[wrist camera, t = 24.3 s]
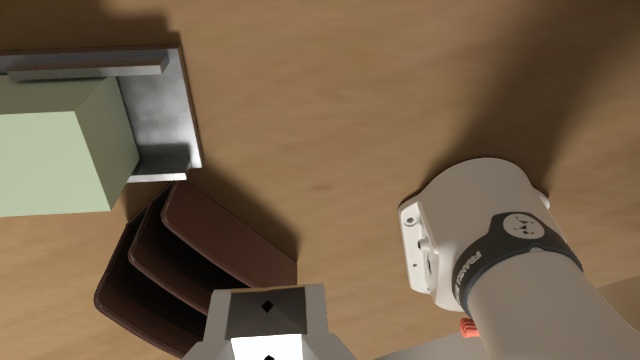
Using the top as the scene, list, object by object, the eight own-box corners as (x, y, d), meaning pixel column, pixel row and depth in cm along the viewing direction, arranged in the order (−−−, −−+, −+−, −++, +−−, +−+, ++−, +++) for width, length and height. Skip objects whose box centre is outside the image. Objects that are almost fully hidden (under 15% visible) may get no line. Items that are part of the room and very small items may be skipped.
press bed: (180, 43, 41) (148, 90, 32) (204, 160, 48) (183, 226, 39) (-136, 56, 40) (-267, 108, 31) (-63, 174, 47) (-152, 245, 38)
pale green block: (113, 70, 40) (74, 111, 33) (139, 158, 46) (110, 210, 38) (-13, 75, 40) (-82, 118, 33) (28, 164, 45) (-23, 218, 38)
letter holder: (247, 297, 62) (238, 393, 50) (126, 220, 53) (80, 314, 41) (298, 261, 58) (301, 354, 47) (178, 172, 49) (144, 260, 38)
